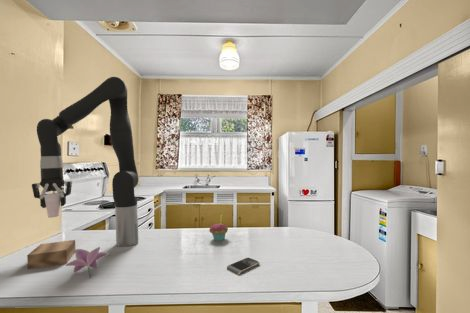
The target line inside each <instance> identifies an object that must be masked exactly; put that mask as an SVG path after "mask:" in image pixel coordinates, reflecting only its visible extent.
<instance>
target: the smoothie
mask: <svg viewBox="0 0 470 313" xmlns="http://www.w3.org/2000/svg"><path fill="white" fill-rule="evenodd" d="M43 197H44V198H45V203H46V208H45V209H46V213H47V217H48V218H49V219H50V218H57V217H59V216H60V211H61V199H60V198H61V196H60V194H59V193H58V192H56V191H52V192H48V193H47V194H45V195H43Z"/></svg>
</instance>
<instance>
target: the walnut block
mask: <svg viewBox="0 0 470 313" xmlns="http://www.w3.org/2000/svg"><path fill="white" fill-rule="evenodd" d="M75 250H76V239H73V240H72V239H71V240H63V241H57V242H47V243H40V244H39V245H38V246H37V247H35V248H34V249H33V250H31V251H30V252H29V253H28V254H27V255H26V258H27V259H26V260H27V261H26V262H27V269H28V270H31V269H36V268H37V269H38V268H42V267H50V266H51V267H52V266H57V264H58V265H62V264H63V263H65V264H68V263H69V262H70V259H71V258H72V257H73V256H74V255H75ZM63 265H64V264H63Z"/></svg>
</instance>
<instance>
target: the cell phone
mask: <svg viewBox="0 0 470 313" xmlns="http://www.w3.org/2000/svg"><path fill="white" fill-rule="evenodd" d="M258 266H260V261H259V260H256V259H253V258H250V257H245V258H243V259H241V260H239V261H236V262H233V263H231V264H229V265H227V266H226V270H227V271H229V272H231V273H233V274H235V275H241V274H243V273H245V272H248V271H250V270H252V269H254V268H255V267H258Z"/></svg>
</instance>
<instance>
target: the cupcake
mask: <svg viewBox="0 0 470 313" xmlns="http://www.w3.org/2000/svg"><path fill="white" fill-rule="evenodd" d="M222 220H223V215H222V214H221V215H220V218H219V223H214V224H212V225H211V226H210V227H209V231H208V232H210V234H211V235H212V237H213V240H214V241H218V242H219V241H224V239H225V237H226V234H227V233H228V230H229V227H228V226H227V225H226V224H224V223H223V222H222Z"/></svg>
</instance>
